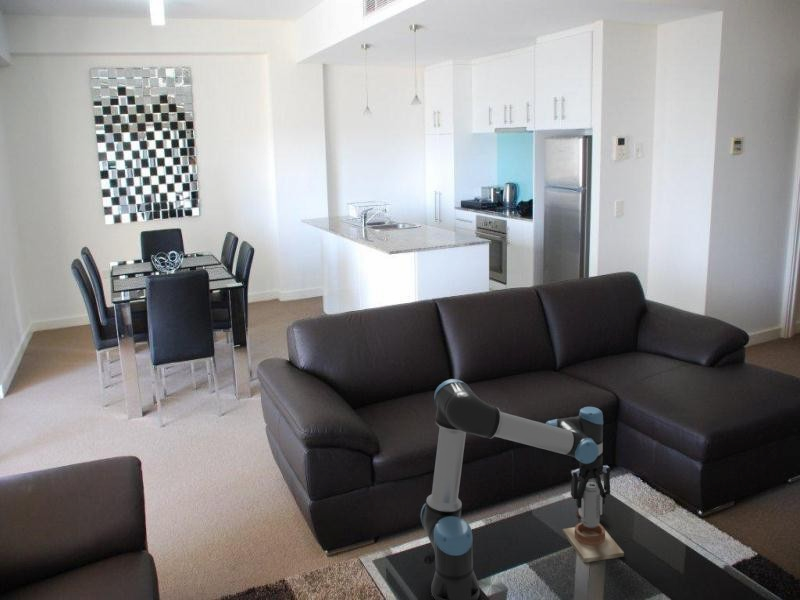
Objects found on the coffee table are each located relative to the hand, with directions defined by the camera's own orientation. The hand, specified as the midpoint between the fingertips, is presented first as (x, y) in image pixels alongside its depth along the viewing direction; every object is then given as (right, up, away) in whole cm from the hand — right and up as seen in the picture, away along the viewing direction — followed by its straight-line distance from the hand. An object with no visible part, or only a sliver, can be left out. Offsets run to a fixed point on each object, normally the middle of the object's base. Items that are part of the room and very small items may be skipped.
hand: (590, 513), depth 236 cm
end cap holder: (+1, -11, +1) cm, 11 cm away
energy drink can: (0, -4, +1) cm, 4 cm away
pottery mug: (+5, -6, +19) cm, 21 cm away
